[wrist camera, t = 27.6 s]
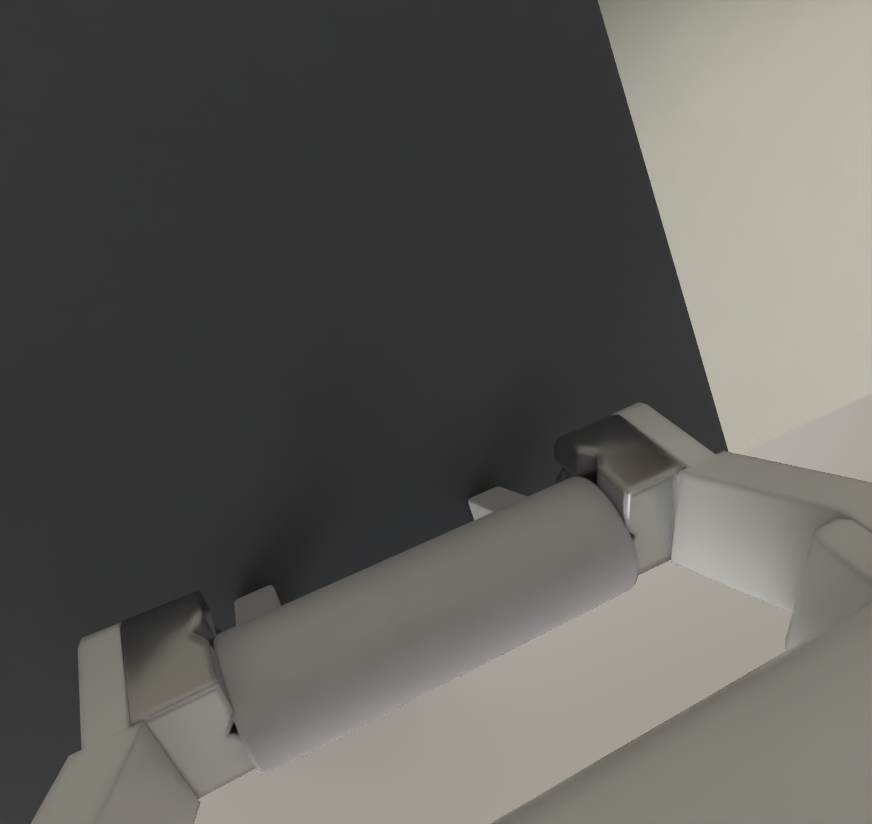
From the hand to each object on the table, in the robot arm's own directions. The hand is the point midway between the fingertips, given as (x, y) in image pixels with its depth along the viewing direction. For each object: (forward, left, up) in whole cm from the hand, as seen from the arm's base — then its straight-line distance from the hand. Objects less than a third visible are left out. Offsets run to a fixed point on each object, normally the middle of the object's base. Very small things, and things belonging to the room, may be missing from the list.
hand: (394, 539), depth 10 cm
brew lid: (0, +2, -5) cm, 5 cm away
